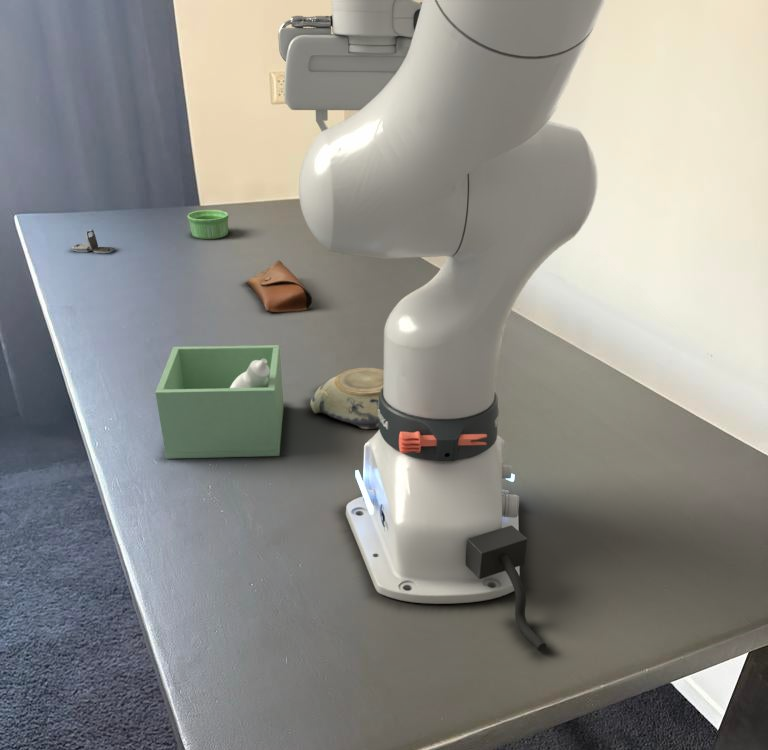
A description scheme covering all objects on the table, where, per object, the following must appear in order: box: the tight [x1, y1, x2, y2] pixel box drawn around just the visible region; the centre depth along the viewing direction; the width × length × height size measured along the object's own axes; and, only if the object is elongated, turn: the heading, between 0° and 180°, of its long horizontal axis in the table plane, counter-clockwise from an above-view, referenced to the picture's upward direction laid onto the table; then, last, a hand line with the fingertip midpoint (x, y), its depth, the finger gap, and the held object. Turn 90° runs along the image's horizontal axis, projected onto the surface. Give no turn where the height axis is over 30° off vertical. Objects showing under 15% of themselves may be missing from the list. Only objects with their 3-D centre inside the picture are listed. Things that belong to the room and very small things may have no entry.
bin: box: [154, 344, 284, 460], centre depth 99 cm, size 14×14×9 cm
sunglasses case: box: [244, 259, 313, 313], centre depth 144 cm, size 18×7×7 cm, turn 22°
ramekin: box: [186, 209, 230, 240], centre depth 178 cm, size 9×9×4 cm
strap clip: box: [71, 228, 115, 254], centre depth 166 cm, size 8×3×4 cm, turn 81°
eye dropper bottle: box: [230, 358, 270, 388], centre depth 96 cm, size 4×6×12 cm
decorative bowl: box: [309, 367, 384, 430], centre depth 108 cm, size 15×4×15 cm
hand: (371, 151), depth 96 cm, fingers open, 8 cm apart
